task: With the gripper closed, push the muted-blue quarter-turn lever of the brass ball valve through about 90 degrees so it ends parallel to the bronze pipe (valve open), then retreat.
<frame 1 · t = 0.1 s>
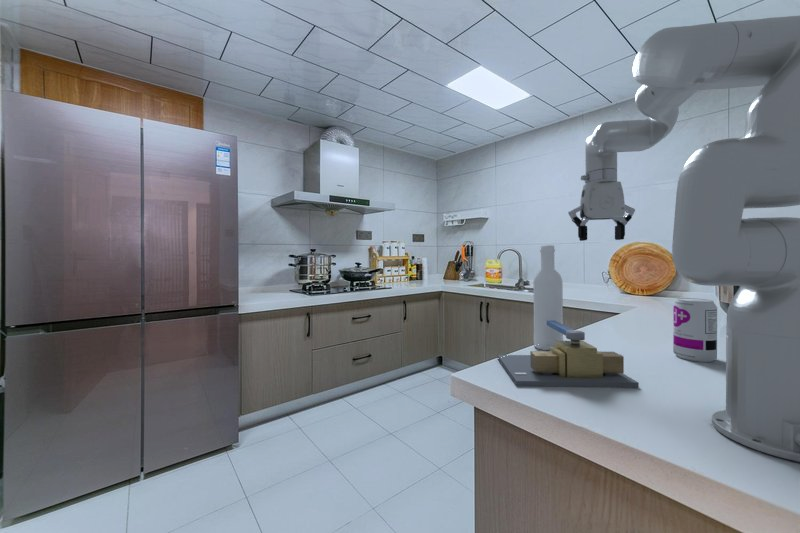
hand: (601, 240, 90), 31 cm above the table, tool pointing down, fingers open, 9 cm apart
valve: (575, 377, 70), resting on base plate
base plate: (558, 371, 74), on the table
bottle: (548, 348, 94), on the table
lever: (563, 329, 76), point 9 cm above the table, hinge at 0.0°
supplement can: (694, 358, 82), on the table
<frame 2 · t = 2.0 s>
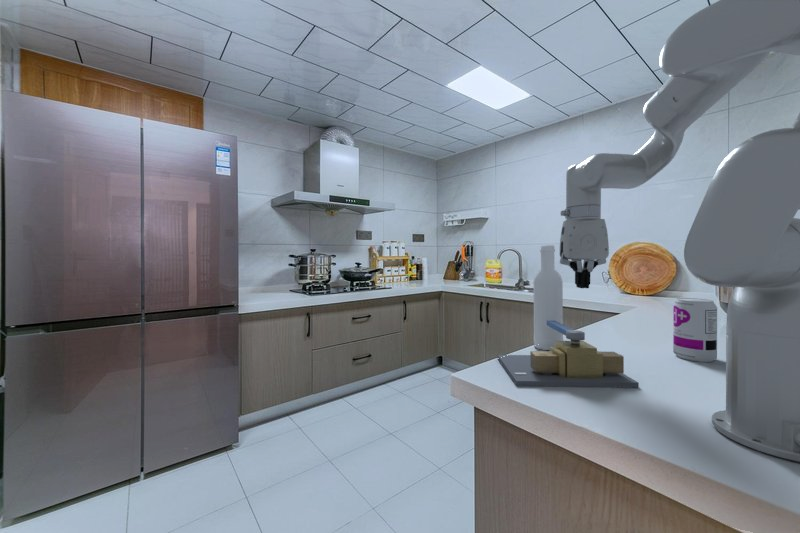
hand: (582, 287, 80), 19 cm above the table, tool pointing down, fingers closed
nothing on the table moved.
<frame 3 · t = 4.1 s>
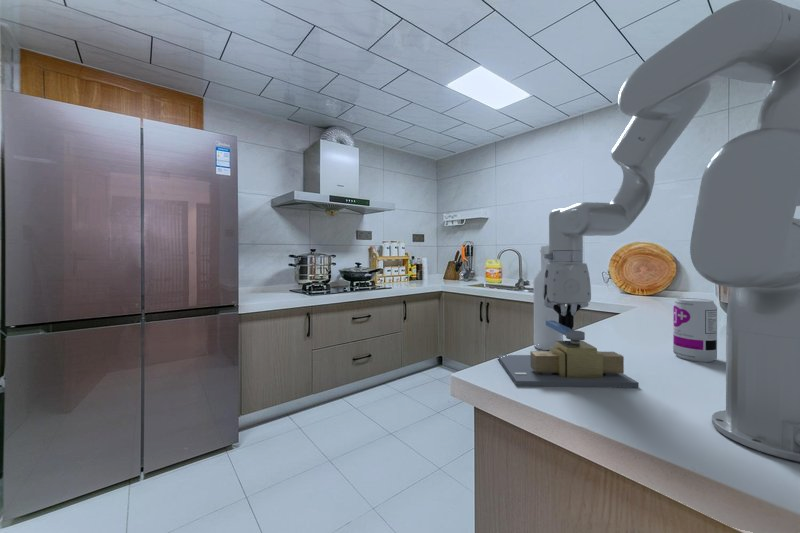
hand: (566, 330, 81), 8 cm above the table, tool pointing down, fingers closed
lever: (562, 329, 76), point 9 cm above the table, hinge at 1.1°, touching gripper
everything else where it was.
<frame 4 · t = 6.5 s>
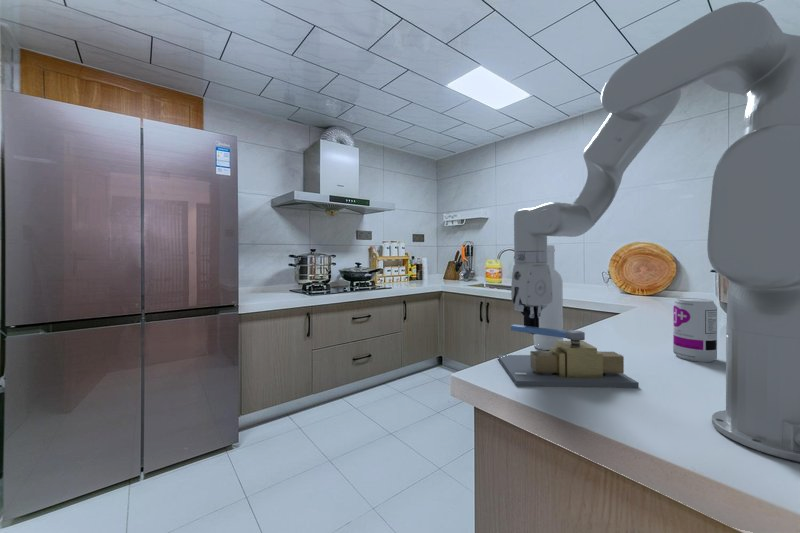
hand: (531, 332, 79), 8 cm above the table, tool pointing down, fingers closed
lever: (545, 331, 74), point 9 cm above the table, hinge at 53.3°, touching gripper
everything else where it was.
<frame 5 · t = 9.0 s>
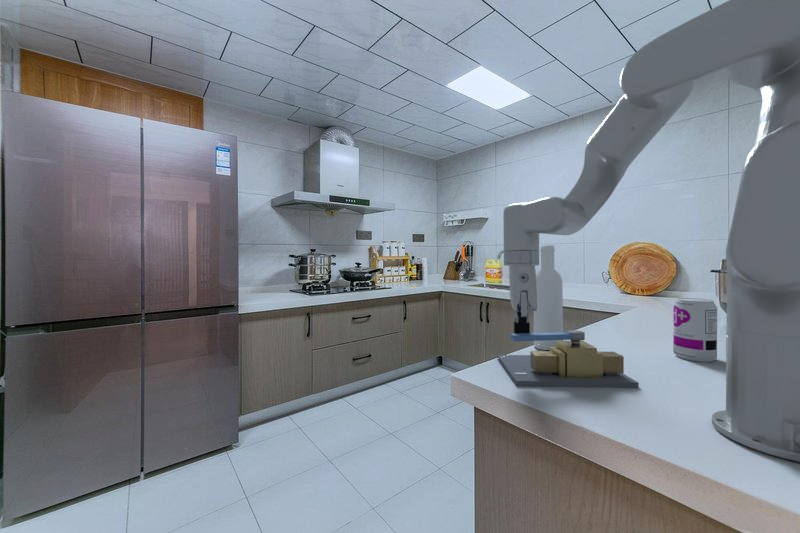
hand: (521, 339, 73), 8 cm above the table, tool pointing down, fingers closed
lever: (547, 335, 70), point 9 cm above the table, hinge at 96.8°, touching gripper
everything else where it was.
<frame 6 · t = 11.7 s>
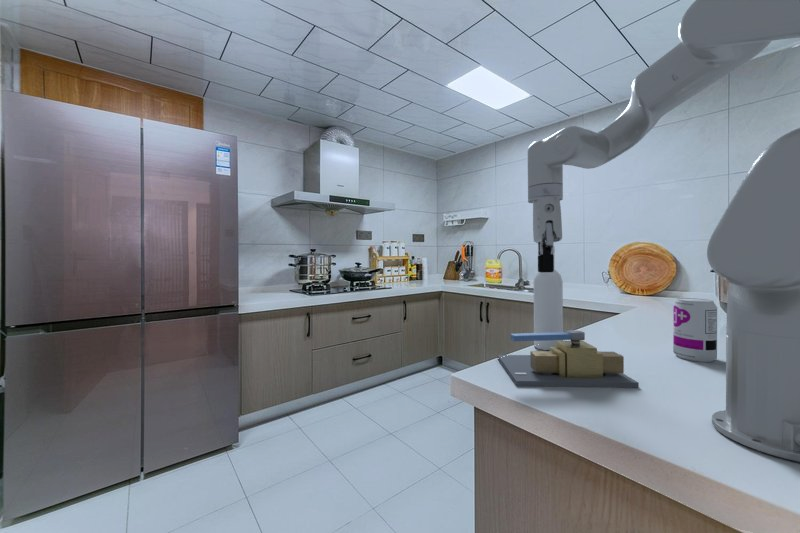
hand: (545, 271, 76), 23 cm above the table, tool pointing down, fingers closed
lever: (547, 336, 70), point 9 cm above the table, hinge at 96.9°
everything else where it was.
at the end: lever at +97° (first picture: +0°); lever touching nothing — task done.
